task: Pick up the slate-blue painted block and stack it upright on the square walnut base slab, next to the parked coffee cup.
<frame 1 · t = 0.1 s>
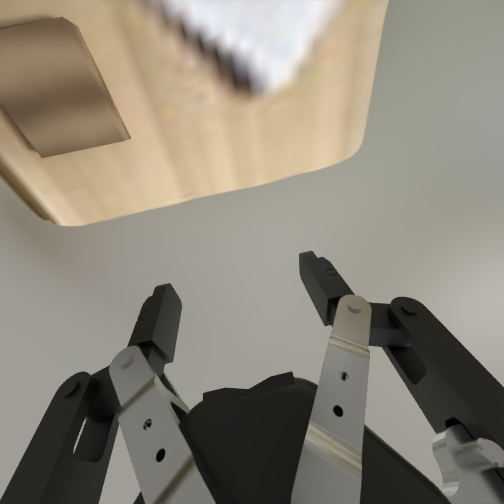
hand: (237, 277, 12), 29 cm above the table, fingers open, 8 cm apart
base: (65, 98, 27), on the table
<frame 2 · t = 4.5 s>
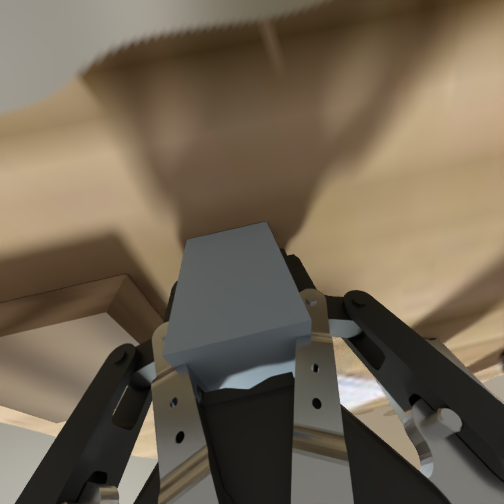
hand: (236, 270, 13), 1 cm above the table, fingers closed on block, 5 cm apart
block: (235, 261, 13), on the table, touching gripper
base: (95, 341, 16), on the table
when the fingers open (5 cm above the table, at t = 9.9 s): block stays where it is, resting on base.
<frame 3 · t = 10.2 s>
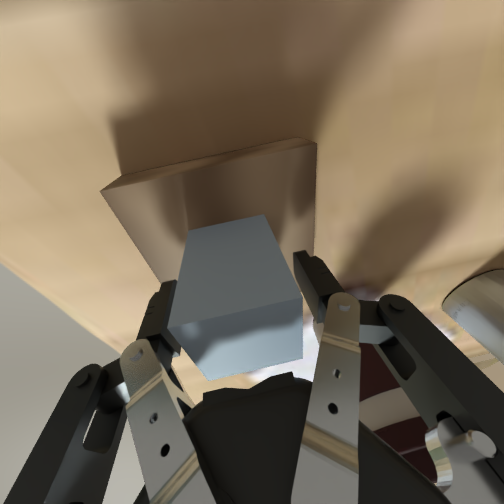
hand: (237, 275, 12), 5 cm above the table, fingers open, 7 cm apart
block: (234, 252, 14), point 3 cm above the table, touching base
base: (231, 232, 17), on the table
coffee cup: (336, 316, 27), on the table
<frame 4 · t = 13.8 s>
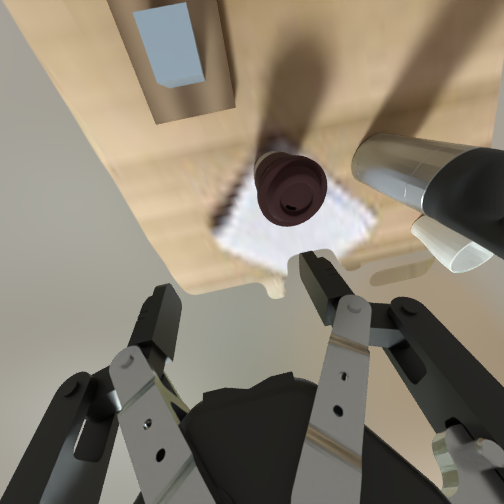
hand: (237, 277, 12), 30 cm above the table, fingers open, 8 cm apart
block: (180, 59, 25), point 3 cm above the table, touching base
base: (183, 64, 28), on the table
cup: (421, 224, 52), on the table
coffee cup: (271, 171, 38), on the table
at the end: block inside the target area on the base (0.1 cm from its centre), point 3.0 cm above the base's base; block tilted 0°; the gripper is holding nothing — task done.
